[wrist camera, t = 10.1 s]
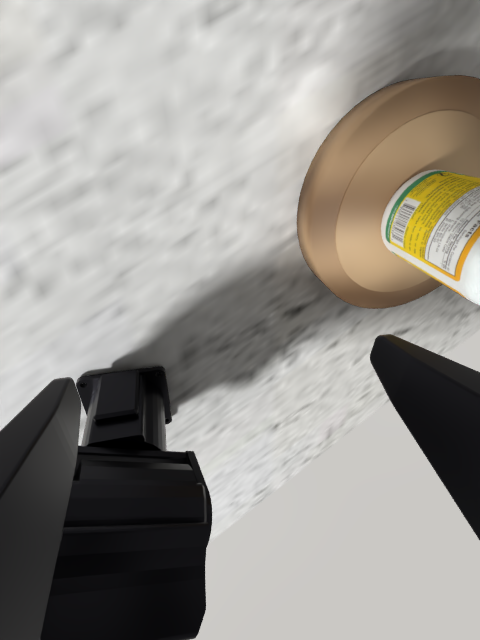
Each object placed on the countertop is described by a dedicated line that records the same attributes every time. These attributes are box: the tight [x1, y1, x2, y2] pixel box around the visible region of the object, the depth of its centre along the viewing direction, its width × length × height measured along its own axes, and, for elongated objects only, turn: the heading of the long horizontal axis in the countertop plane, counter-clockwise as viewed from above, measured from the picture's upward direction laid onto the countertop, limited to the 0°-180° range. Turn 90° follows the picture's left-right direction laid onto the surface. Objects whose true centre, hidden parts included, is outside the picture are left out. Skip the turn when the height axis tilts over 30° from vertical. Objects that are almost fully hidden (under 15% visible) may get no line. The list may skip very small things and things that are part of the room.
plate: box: [297, 75, 480, 309], centre depth 21 cm, size 14×14×3 cm
